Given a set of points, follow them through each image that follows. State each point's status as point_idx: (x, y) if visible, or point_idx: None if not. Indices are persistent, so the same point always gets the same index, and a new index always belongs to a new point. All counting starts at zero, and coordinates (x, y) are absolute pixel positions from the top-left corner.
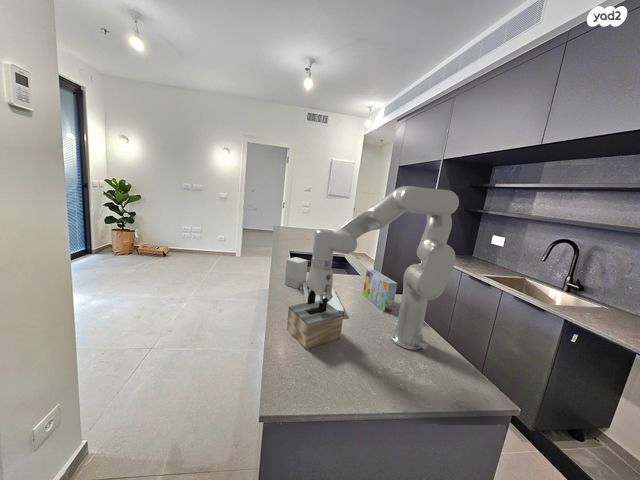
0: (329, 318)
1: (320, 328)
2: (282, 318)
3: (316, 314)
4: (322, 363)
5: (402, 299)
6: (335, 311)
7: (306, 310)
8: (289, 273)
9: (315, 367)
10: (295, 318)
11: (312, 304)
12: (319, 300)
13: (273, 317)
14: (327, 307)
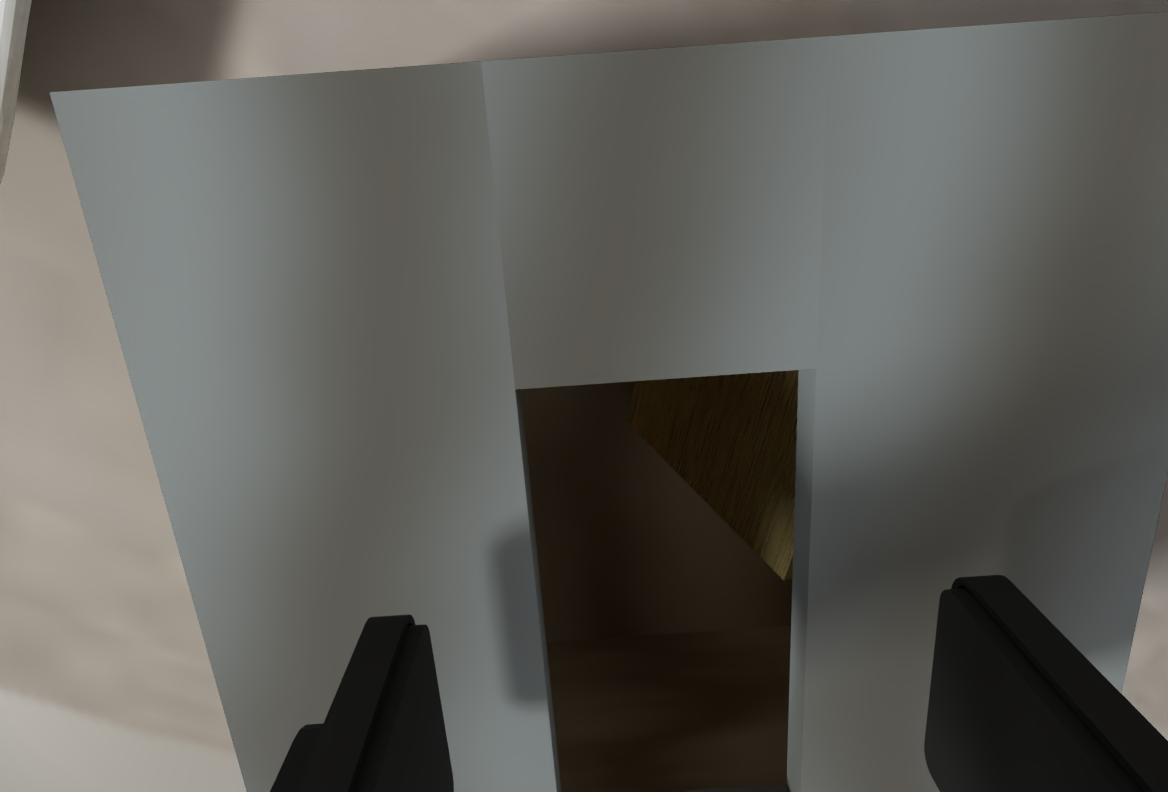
0: (1151, 524)
1: None
2: (120, 606)
3: (853, 710)
4: (1156, 580)
5: None
6: (963, 146)
7: (555, 774)
8: None
9: (1155, 664)
10: None
11: (335, 562)
12: (96, 224)
13: (76, 694)
14: (636, 246)
